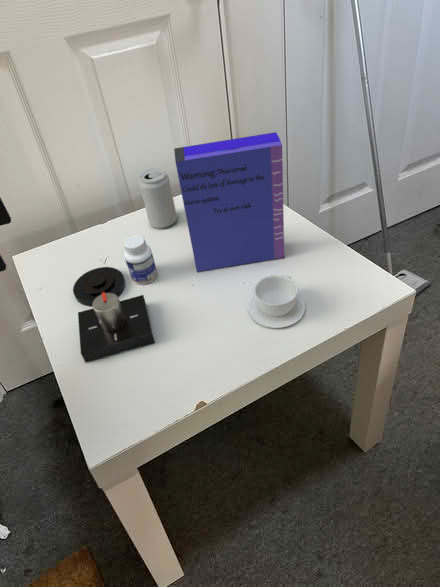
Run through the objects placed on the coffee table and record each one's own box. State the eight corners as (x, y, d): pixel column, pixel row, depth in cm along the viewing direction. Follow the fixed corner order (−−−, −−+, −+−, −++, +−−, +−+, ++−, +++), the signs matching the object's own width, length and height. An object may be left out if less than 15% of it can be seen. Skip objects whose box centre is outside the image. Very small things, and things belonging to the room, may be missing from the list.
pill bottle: (129, 272, 93) (118, 236, 86) (155, 264, 93) (145, 229, 87) (134, 288, 89) (122, 253, 83) (160, 280, 90) (150, 245, 83)
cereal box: (279, 243, 94) (276, 131, 77) (284, 258, 90) (282, 143, 74) (195, 257, 94) (173, 147, 77) (197, 272, 90) (175, 160, 74)
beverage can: (146, 219, 106) (133, 172, 97) (171, 210, 107) (161, 163, 99) (155, 233, 101) (142, 185, 93) (181, 224, 103) (172, 176, 94)
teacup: (289, 337, 76) (289, 318, 73) (238, 317, 80) (235, 298, 77) (314, 299, 81) (315, 279, 78) (265, 282, 86) (264, 263, 83)
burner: (76, 312, 86) (72, 303, 84) (73, 278, 93) (70, 270, 92) (128, 298, 87) (125, 289, 86) (122, 266, 94) (119, 258, 93)
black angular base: (85, 362, 77) (80, 353, 75) (82, 321, 84) (77, 311, 82) (155, 343, 78) (151, 332, 76) (146, 304, 85) (143, 294, 83)
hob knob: (128, 327, 78) (119, 305, 74) (102, 335, 77) (93, 313, 74) (123, 310, 81) (115, 288, 78) (99, 317, 80) (90, 296, 77)
